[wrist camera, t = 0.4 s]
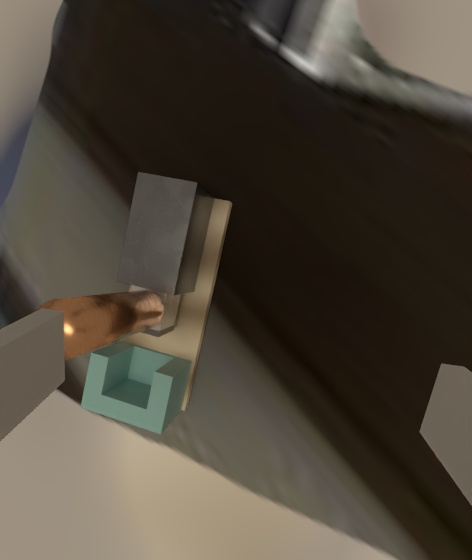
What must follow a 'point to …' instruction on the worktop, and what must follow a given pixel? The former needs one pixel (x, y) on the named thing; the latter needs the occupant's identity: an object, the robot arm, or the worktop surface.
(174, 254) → the sleeve
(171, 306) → the slip bolt
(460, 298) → the worktop surface
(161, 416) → the socket
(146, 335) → the base board
